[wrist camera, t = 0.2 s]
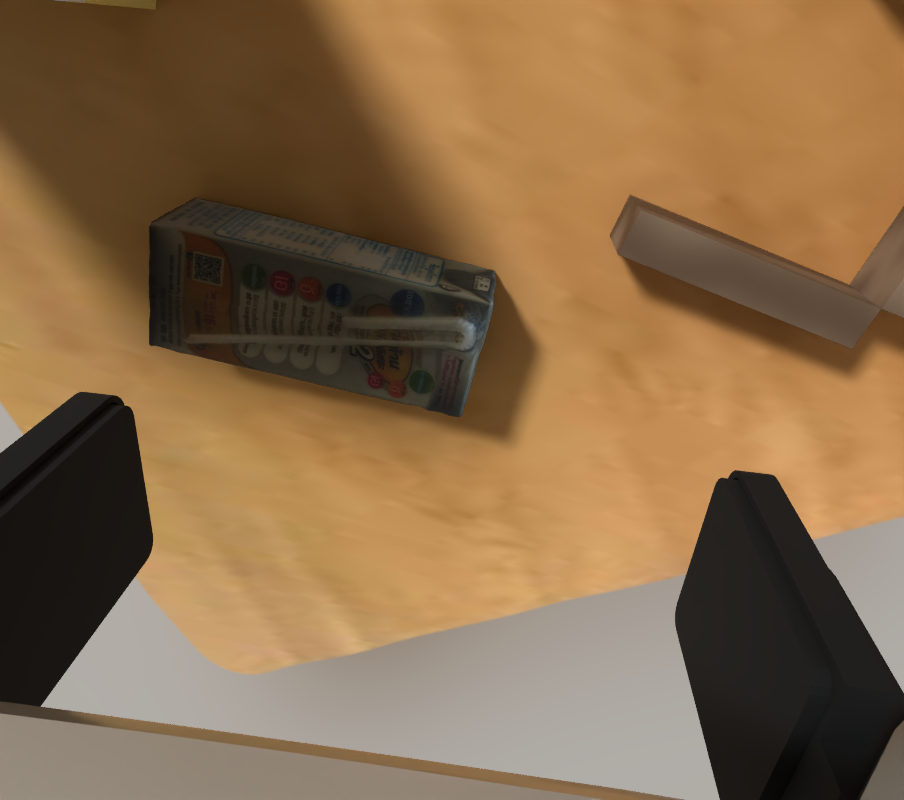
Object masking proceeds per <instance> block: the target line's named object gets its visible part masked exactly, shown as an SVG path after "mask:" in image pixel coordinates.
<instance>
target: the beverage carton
mask: <svg viewBox="0 0 904 800" xmlns="http://www.w3.org/2000/svg"><path fill="white" fill-rule="evenodd" d="M149 244H150V259H149V300H150V320H149V344H150V346H159V347H163V348H167V349H170V350H173V351H176V352H180V353H185V354H189V355H194V356H199V357H203V358H207V359H211V360H215V361H220V362H224V363H228V364H233V365H237V366H241V367H245V368H250V369H254V370H259V371H263V372H268V373H273V374H277V375H281V376H285V377H290V378H294V379H298V380H302V381H307V382H311V383H315V384H319V385H323V386H327V387H332V388H337V389H341V390H345V391H349V392H353V393H358V394H362V395H366V396H371V397H376V398H380V399H384V400H389V401H393V402H398V403H402V404H407V405H414V406H419V407H421V408H424V409H426V410H429V411H436V412H440V413H444V414H446V415H449V416H455V417H460V416H462V414H463V410H464V407H465V404H466V401H467V398H468V394H469V390H470V386H471V383H472V380H473V377H474V373H475V370H476V366H477V361H478V358H479V355H480V352H481V350H482V347H483V345H484V341H485V338H486V334H487V331H488V328H489V323H490V319H491V315H492V312H493V307H494V298H493V295H494V292H495V288H496V280H495V279H496V274H495V271H493V270H489V269H485V268H481V267H477V266H474V265H470V264H465V263H460V262H456V261H452V260H447V259H443V258H439V257H436V256H432V255H428V254H424V253H420V252H416V251H413V250H409V249H404V248H400V247H396V246H392V245H388V244H384V243H380V242H376V241H372V240H368V239H364V238H360V237H356V236H352V235H348V234H344V233H341V232H337V231H333V230H329V229H325V228H321V227H317V226H313V225H308V224H305V223H301V222H297V221H293V220H289V219H285V218H281V217H277V216H272V215H268V214H264V213H259V212H255V211H251V210H247V209H242V208H238V207H234V206H229V205H225V204H221V203H217V202H210V201H206V200H202V199H199V198H194V199H192V200H191V201H188V202H187V203H185V204H184V205H182V206H180V207H177V208H175V209H174V210H172V211H171V212H168V213H166V214H164V215H163V216H161V217H159V218H158V219H157V220H154V221H153V222H152V223H151V224H150V226H149Z"/></svg>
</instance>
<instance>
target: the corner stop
mask: <svg viewBox="0 0 904 800" xmlns="http://www.w3.org/2000/svg"><path fill="white" fill-rule="evenodd" d="M610 238H611V240H612V242H613V244H614V247H615V249H616V251H617V253H618V255H620V256H623V257H625V258H628V259H630V260H633V261H635V262H638V263H640V264H642V265H645V266H647V267H650V268H652V269H655V270H657V271H660V272H662V273H665V274H667V275H670V276H672V277H675V278H677V279H680V280H682V281H685V282H687V283H690V284H692V285H695V286H697V287H700V288H702V289H704V290H707V291H709V292H712V293H714V294H717V295H719V296H722V297H724V298H727V299H729V300H732V301H734V302H737V303H739V304H742V305H744V306H747V307H749V308H752V309H754V310H757V311H759V312H762V313H764V314H766V315H769V316H771V317H774V318H776V319H779V320H781V321H784V322H786V323H789V324H791V325H794V326H796V327H799V328H801V329H804V330H806V331H809V332H811V333H814V334H816V335H819V336H821V337H824V338H826V339H828V340H831V341H833V342H836V343H838V344H841V345H843V346H846V347H848V348H851V349H852V348H853V347H854V346H855V344H856V343H857V341H858V340H859V339H860V337H861V336H862V335H863V333H864V332H865V331H866V329H867V328H868V326H869V325H870V324H871V322H872V321H873V320H874V318H875V317H876V315H877V314H878V313H879V311H880V310H881V309H883V310H885V311H888V312H890V313H893V314H895V315H898V316H900V317H902V318H904V207H903V209H902V210H901V211H900V213H899V214H898V216H897V217H896V219H895V220H894V222H893V223H892V224H891V226H890V227H889V229H888V230H887V232H886V233H885V235H884V236H883V237H882V239H881V240H880V242H879V243H878V245H877V246H876V248H875V249H874V250H873V252H872V253H871V255H870V256H869V258H868V259H867V261H866V262H865V263H864V265H863V266H862V268H861V269H860V271H859V272H858V274H857V275H856V276H855V278H854V279H853V281H852V282H851V284H850V285H848V284H845V283H843V282H841V281H838V280H836V279H833V278H831V277H828V276H826V275H824V274H821V273H819V272H816V271H814V270H811V269H809V268H807V267H804V266H802V265H799V264H797V263H794V262H792V261H790V260H787V259H785V258H782V257H780V256H778V255H775V254H773V253H770V252H768V251H765V250H763V249H761V248H758V247H756V246H753V245H751V244H748V243H746V242H744V241H741V240H739V239H736V238H734V237H731V236H729V235H727V234H724V233H722V232H719V231H717V230H714V229H712V228H710V227H707V226H705V225H702V224H700V223H697V222H695V221H693V220H690V219H688V218H685V217H683V216H680V215H678V214H676V213H673V212H671V211H668V210H666V209H663V208H661V207H659V206H656V205H654V204H651V203H649V202H646V201H644V200H642V199H639V198H637V197H634V196H632V195H630V196H629V198H628V200H627V202H626V204H625V206H624V208H623V210H622V212H621V214H620V216H619V218H618V220H617V222H616V224H615V226H614V228H613V230H612V232H611V234H610Z"/></svg>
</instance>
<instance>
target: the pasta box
mask: <svg viewBox="0 0 904 800" xmlns="http://www.w3.org/2000/svg"><path fill="white" fill-rule="evenodd" d="M56 1H67V2H78V3H89V4H100V5H111V6H122V7H133V8H144V9H155V10H156V0H56Z"/></svg>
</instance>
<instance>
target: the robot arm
mask: <svg viewBox="0 0 904 800" xmlns="http://www.w3.org/2000/svg"><path fill="white" fill-rule="evenodd" d="M152 546H153V533H152V526H151V520H150V514H149V507H148V501H147V495H146V489H145V482H144V476H143V470H142V463H141V457H140V451H139V444H138V438H137V432H136V425H135V419H134V414H133V411H132V409H131V408H130V407H128V406H124V403H123V401H122V400H121V398H119V397H118V396H114V395H105V394H97V393H89V392H79V393H77V394H75V395H74V396H73V397H71V398H70V399H69V400H68V401H66V402H65V403H64V404H62V405H61V406H60V407H59V408H57V409H56V410H55V411H54V412H52V413H51V414H50V415H48V416H47V417H46V418H45V419H43V420H42V421H41V422H40V423H38V424H37V425H36V426H34V427H33V428H32V429H31V430H29V431H28V432H27V433H26V434H24V435H23V436H22V437H21V438H19V439H18V440H17V441H15V442H14V443H13V444H12V445H10V446H9V447H8V448H6V449H5V450H4V451H3V452H1V453H0V800H683V799H677V798H670V797H665V796H659V795H652V794H646V793H640V792H634V791H628V790H622V789H615V788H608V787H602V786H595V785H588V784H581V783H575V782H568V781H561V780H554V779H547V778H540V777H534V776H527V775H521V774H514V773H507V772H500V771H493V770H487V769H480V768H472V767H466V766H459V765H453V764H446V763H439V762H433V761H426V760H419V759H412V758H404V757H397V756H390V755H384V754H376V753H370V752H363V751H355V750H349V749H342V748H335V747H328V746H321V745H314V744H307V743H299V742H293V741H285V740H277V739H271V738H264V737H257V736H250V735H243V734H235V733H229V732H221V731H214V730H207V729H200V728H193V727H186V726H178V725H171V724H164V723H156V722H149V721H141V720H134V719H127V718H119V717H112V716H105V715H97V714H89V713H82V712H75V711H68V710H61V709H53V708H45V707H40V706H41V705H42V704H43V702H44V701H45V699H46V698H47V697H48V695H49V694H50V693H51V691H52V690H53V688H54V687H55V686H56V684H57V683H58V682H59V680H60V679H61V677H62V676H63V675H64V673H65V672H66V671H67V669H68V668H69V667H70V665H71V664H72V662H73V661H74V660H75V658H76V657H77V656H78V654H79V653H80V651H81V650H82V649H83V647H84V646H85V644H86V643H87V642H88V640H89V639H90V638H91V636H92V635H93V634H94V632H95V631H96V629H97V628H98V627H99V625H100V624H101V623H102V621H103V620H104V618H105V617H106V616H107V614H108V613H109V612H110V610H111V609H112V607H113V606H114V605H115V603H116V602H117V600H118V599H119V598H120V596H121V595H122V594H123V592H124V591H125V589H126V588H127V587H128V586H129V584H130V583H131V581H132V580H133V579H134V577H135V576H136V575H137V573H138V572H139V570H140V569H141V568H142V566H143V565H144V564H145V562H146V561H147V559H148V557H149V555H150V553H151V550H152ZM675 625H676V630H677V634H678V638H679V642H680V646H681V650H682V654H683V657H684V661H685V666H686V669H687V673H688V677H689V681H690V685H691V689H692V693H693V696H694V701H695V704H696V708H697V712H698V716H699V720H700V724H701V728H702V731H703V735H704V739H705V743H706V747H707V751H708V755H709V759H710V763H711V767H712V770H713V774H714V778H715V782H716V786H717V790H718V794H719V798H720V800H904V693H903V691H902V690H901V688H900V686H899V684H898V683H897V681H896V679H895V678H894V676H893V674H892V673H891V671H890V669H889V667H888V665H887V664H886V662H885V660H884V659H883V657H882V655H881V654H880V652H879V650H878V648H877V647H876V645H875V643H874V641H873V640H872V638H871V636H870V635H869V633H868V631H867V629H866V628H865V626H864V624H863V622H862V621H861V619H860V617H859V616H858V614H857V612H856V610H855V609H854V607H853V605H852V604H851V602H850V600H849V598H848V597H847V595H846V593H845V591H844V590H843V588H842V586H841V585H840V583H839V581H838V580H837V578H836V576H835V575H834V574H833V573H832V571H831V570H830V569H829V568H828V567H827V565H826V563H825V562H824V560H823V558H822V556H821V554H820V553H819V551H818V549H817V548H816V546H815V544H814V542H813V540H812V539H811V537H810V535H809V534H808V532H807V530H806V528H805V527H804V525H803V523H802V521H801V520H800V518H799V516H798V514H797V513H796V511H795V509H794V508H793V506H792V504H791V502H790V501H789V499H788V497H787V495H786V494H785V492H784V490H783V488H782V487H781V485H780V483H779V481H778V480H777V478H776V477H775V476H774V475H770V474H762V473H753V472H745V471H737V470H735V471H733V472H732V473H731V474H730V476H729V478H728V479H726V478H720V479H719V480H718V481H717V483H716V485H715V488H714V491H713V494H712V497H711V500H710V503H709V506H708V509H707V512H706V515H705V519H704V522H703V525H702V528H701V531H700V534H699V537H698V540H697V543H696V546H695V550H694V553H693V556H692V559H691V562H690V565H689V568H688V571H687V574H686V577H685V581H684V584H683V587H682V590H681V593H680V596H679V599H678V602H677V606H676V612H675Z"/></svg>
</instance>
